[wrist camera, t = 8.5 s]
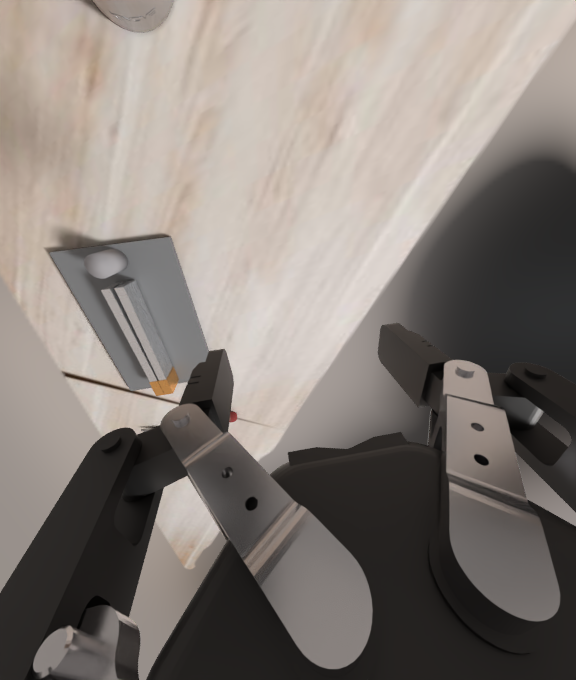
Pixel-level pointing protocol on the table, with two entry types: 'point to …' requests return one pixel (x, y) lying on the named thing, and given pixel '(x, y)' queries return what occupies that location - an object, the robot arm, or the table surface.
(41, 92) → the table surface
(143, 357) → the leg
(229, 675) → the robot arm
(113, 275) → the mat
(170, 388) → the leg
